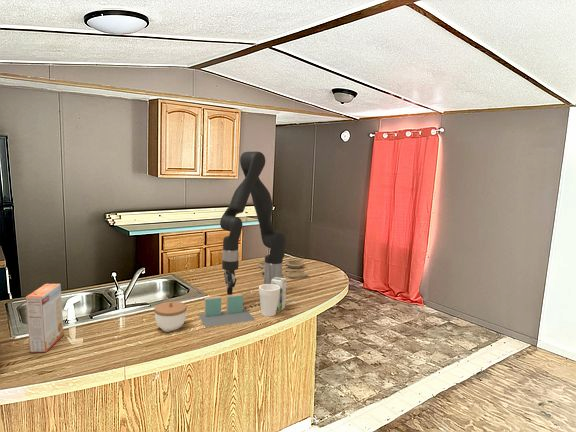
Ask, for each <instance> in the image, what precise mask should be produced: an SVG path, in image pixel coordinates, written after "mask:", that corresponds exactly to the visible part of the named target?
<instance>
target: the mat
mask: <svg viewBox="0 0 576 432" xmlns="http://www.w3.org/2000/svg"><path fill="white" fill-rule="evenodd" d="M197 315H198V317H199V319H200V322H202V324H203V327H204V328H212V327H218V326H224V325H231V324H238V323H247V322H253V321H256V319H255V318H254V317H253V315H252V314H251V313H250V312H249V311H248V310H247V308H243V312H239V313H231V314H227V312H226V310H222V311H221V315H216V316H208V317H206V316H205V315H204V313H200V314H199V313H198V314H197Z"/></svg>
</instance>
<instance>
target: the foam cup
mask: <svg viewBox="0 0 576 432" xmlns="http://www.w3.org/2000/svg"><path fill="white" fill-rule="evenodd" d="M279 293H280V287H279V286H278V285H274V284H264V283H263V284H261V285H259V287H258V294H259V301H260V313H261V316H263V317H273V316H276V315H277V304H278V299H279Z"/></svg>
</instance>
